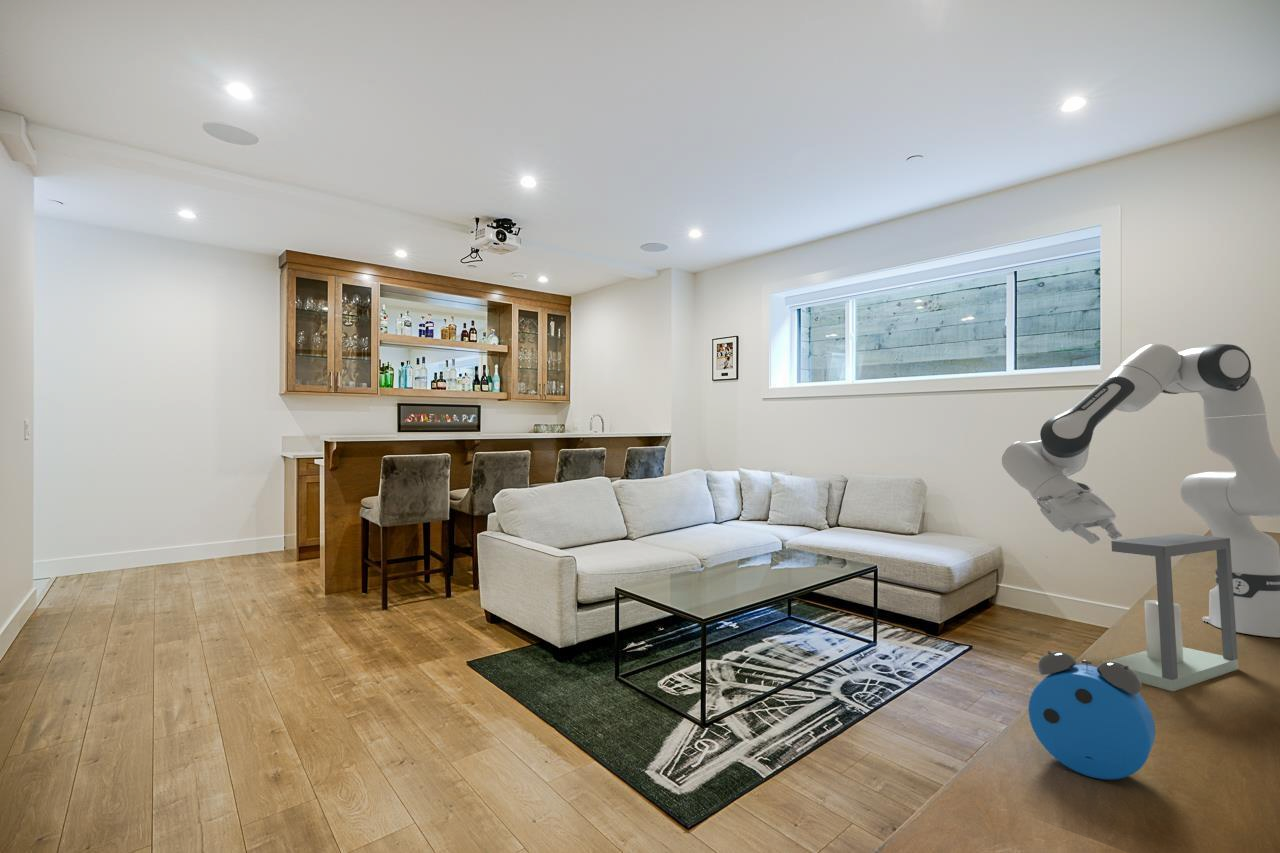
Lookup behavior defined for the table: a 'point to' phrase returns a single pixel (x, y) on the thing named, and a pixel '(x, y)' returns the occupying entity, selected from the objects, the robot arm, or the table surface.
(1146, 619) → the white cylinder
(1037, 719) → the alarm clock
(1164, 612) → the grey frame
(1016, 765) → the table surface
